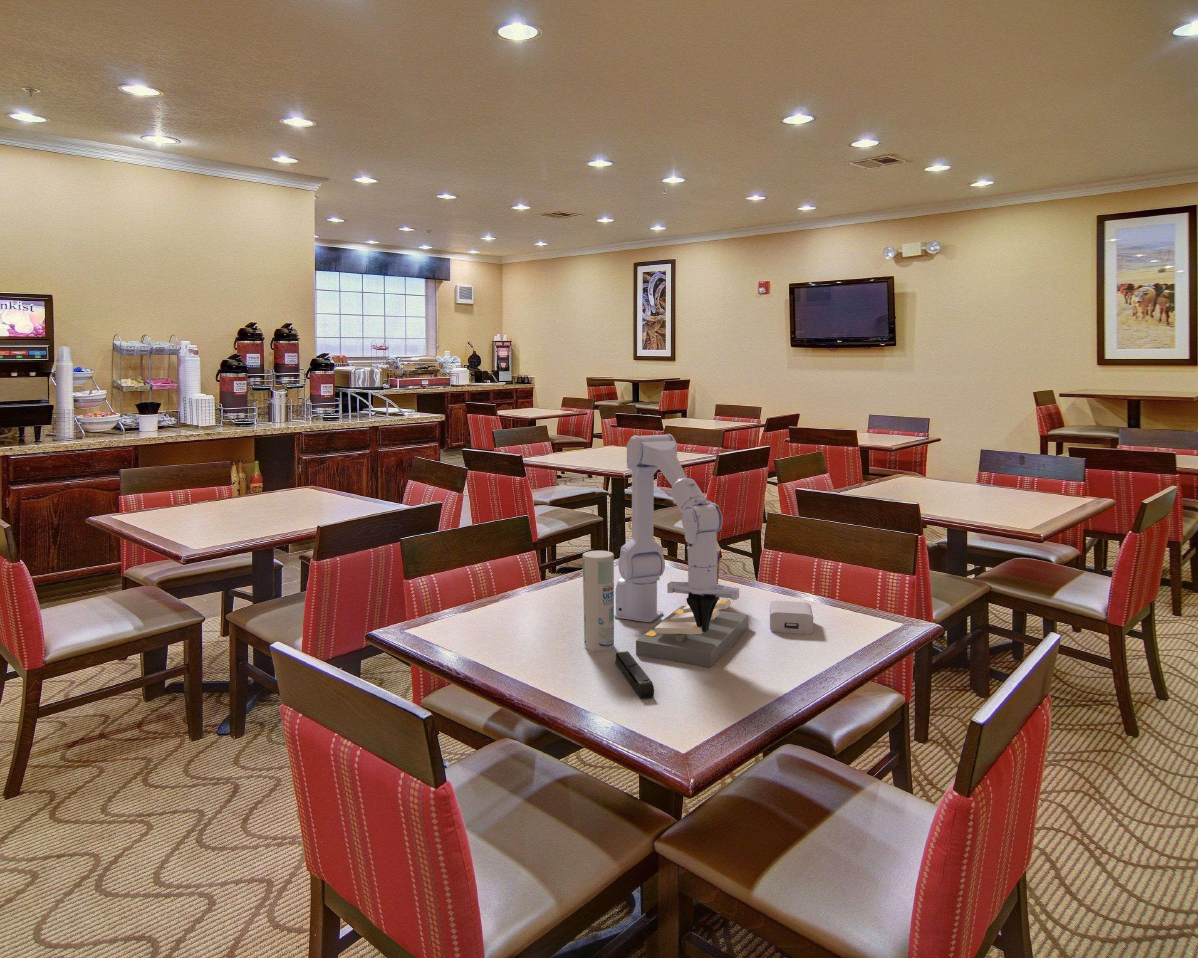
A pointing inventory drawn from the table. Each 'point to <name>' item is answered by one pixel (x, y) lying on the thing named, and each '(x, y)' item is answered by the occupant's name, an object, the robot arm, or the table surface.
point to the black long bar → (634, 675)
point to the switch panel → (694, 640)
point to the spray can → (598, 600)
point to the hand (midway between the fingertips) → (703, 630)
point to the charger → (791, 617)
